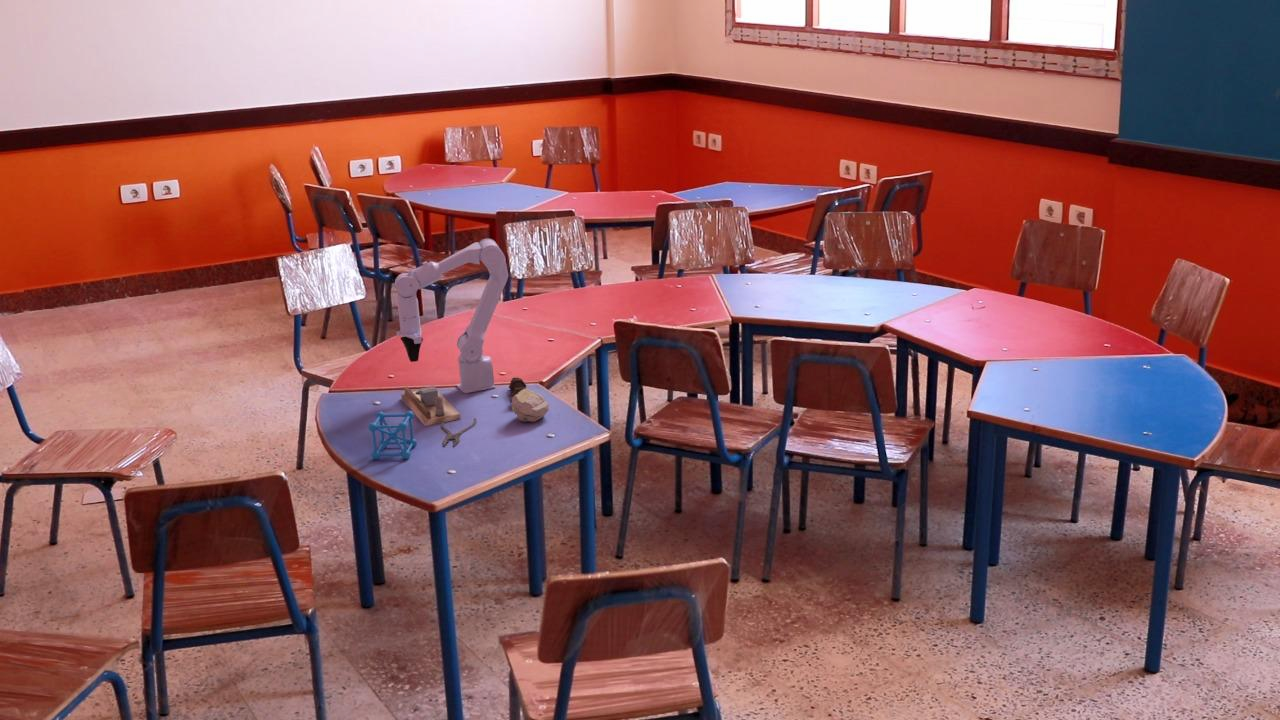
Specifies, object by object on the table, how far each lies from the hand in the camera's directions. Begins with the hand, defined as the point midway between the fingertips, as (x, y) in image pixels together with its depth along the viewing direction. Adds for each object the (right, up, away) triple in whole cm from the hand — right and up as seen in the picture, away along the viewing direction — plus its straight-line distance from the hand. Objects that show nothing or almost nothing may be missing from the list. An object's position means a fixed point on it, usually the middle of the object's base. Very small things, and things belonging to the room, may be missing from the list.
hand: (414, 360), depth 353 cm
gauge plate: (+6, -13, -8) cm, 17 cm away
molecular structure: (+2, -24, -37) cm, 44 cm away
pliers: (+17, -19, -25) cm, 36 cm away
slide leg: (+6, -12, -9) cm, 16 cm away
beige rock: (+35, -16, -18) cm, 43 cm away
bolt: (+31, -11, -1) cm, 32 cm away
